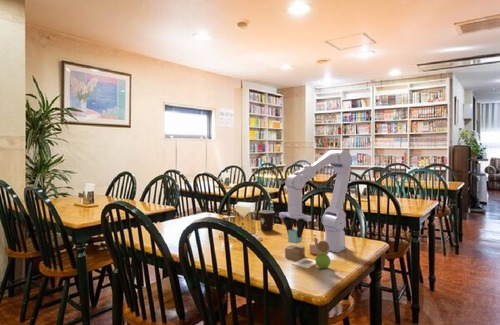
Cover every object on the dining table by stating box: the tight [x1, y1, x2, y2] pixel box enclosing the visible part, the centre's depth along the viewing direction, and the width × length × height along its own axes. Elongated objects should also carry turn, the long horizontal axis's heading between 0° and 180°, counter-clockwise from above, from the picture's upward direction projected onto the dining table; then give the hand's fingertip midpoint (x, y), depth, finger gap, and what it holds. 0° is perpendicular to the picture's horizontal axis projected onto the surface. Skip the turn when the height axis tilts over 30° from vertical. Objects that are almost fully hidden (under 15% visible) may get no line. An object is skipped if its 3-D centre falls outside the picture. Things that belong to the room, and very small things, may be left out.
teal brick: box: [287, 227, 303, 245], centre depth 141 cm, size 4×4×5 cm
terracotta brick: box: [309, 241, 321, 255], centre depth 147 cm, size 4×4×4 cm
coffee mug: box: [258, 209, 279, 232], centre depth 187 cm, size 12×9×10 cm
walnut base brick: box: [284, 244, 306, 261], centre depth 142 cm, size 6×6×4 cm
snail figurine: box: [313, 234, 331, 269], centre depth 128 cm, size 5×6×12 cm
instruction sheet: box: [292, 257, 317, 269], centre depth 133 cm, size 9×7×1 cm
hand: (294, 236), depth 141 cm, fingers closed on teal brick, 4 cm apart
